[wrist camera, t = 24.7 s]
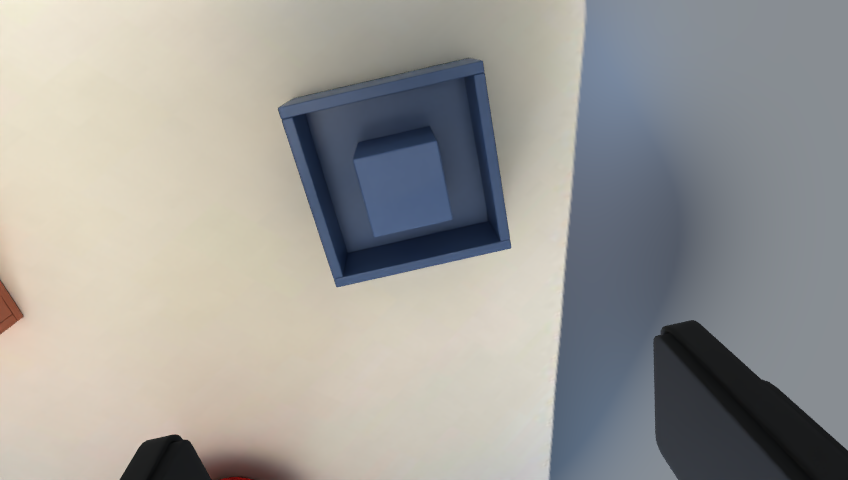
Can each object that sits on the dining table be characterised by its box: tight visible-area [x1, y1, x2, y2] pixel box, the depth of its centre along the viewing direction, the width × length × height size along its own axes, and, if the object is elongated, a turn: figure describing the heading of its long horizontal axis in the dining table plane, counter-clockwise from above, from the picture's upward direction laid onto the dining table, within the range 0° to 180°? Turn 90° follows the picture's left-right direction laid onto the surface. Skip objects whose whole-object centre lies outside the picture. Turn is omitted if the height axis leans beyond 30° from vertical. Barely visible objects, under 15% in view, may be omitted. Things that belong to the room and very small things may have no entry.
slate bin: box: [278, 58, 511, 287], centre depth 28 cm, size 11×11×4 cm
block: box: [353, 126, 453, 237], centre depth 27 cm, size 4×4×4 cm
